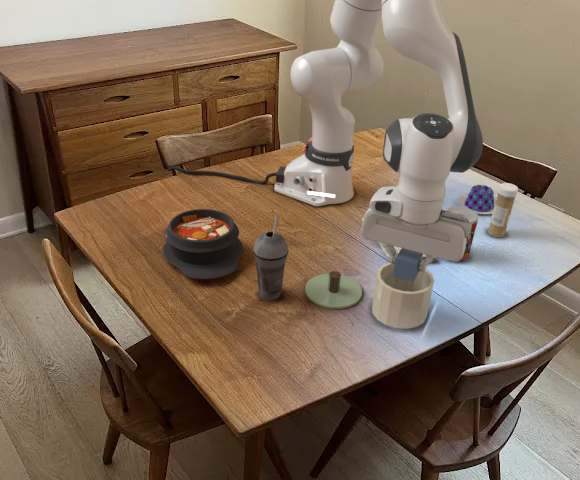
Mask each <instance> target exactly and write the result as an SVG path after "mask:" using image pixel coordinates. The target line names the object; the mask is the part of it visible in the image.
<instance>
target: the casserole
mask: <svg viewBox="0 0 580 480" xmlns="http://www.w3.org/2000/svg"><path fill="white" fill-rule="evenodd" d="M239 236H240V228H239V227H238V225H237V224H236V223H235V221H234V219H233V217H231V216H230V215H229V214H227V213H225V212H223V211H220V210H216V209H212V208H211V209H209V208H198V209H197V208H196V209H190V210H185V211H183V212H181V213H178V214H176V215H175V216H174V217H172V218H171V219H170V221H169V222H168V225H167V227H166V229H165V230H164V239H165V241H166V242H165V243H164V244H163V246H162V255H163V258H164V259H165V260H166V261H167V262H168V263H170V264H171V265H173V266H175V267H176V268H177V269H178V270H179V271H180V272H181V273H182V274H183V275H184V276H185V277H188V278H191V279H196V280H210V279H216V278H221V277H225V276H228V275H230V274H233V273H234V272H235V271H236V270H237V269H238V267H239V260H240V258H241V256H242V254H243V252H244V246H243V242H242V240H241V239H240V238H239Z"/></svg>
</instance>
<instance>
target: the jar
mask: <svg viewBox="0 0 580 480" xmlns="http://www.w3.org/2000/svg"><path fill="white" fill-rule="evenodd" d="M394 266H395V264H392V263H390V261H389V262H386V263H384V264H383V265H381V266H379V269H378V270H377V272H376V276H375V284H374V290H373V296H372V302H371V303H372V304H371V310H372V311H371V312H372V314H373V316H374V317H375V319H376V320H377V321H379V322H380V323H382V324H383V325H385V326H388V327H390V328H394V329H401V330H409V329H413V328H417V327H419V326H420V325H422V324H423V323H425V321H426V319H427V317H428V312H429V308H430V303H431V298H432V294H433V289H434V285H435V279H434V275H433V274H432V272H430V271H429V269H428V268H426V270H425V272H422V271H419V273H418V275H417V277H416V279H415V281H414V282H413V281H409V280H406V279H402V278H399V277H395V276H393V272H394Z"/></svg>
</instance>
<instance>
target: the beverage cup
mask: <svg viewBox="0 0 580 480" xmlns="http://www.w3.org/2000/svg"><path fill="white" fill-rule="evenodd" d="M278 221H279V214H278V213H276V214H275V219H274V226H273V231H271V230H270V231H265V232H263V233H261V234H260V235H259V236H257V238H256V240H255V241H254V245H253V249H252V252H253V256H254V261H255V266H256V275H257V287H258V293H259V296H260V297H261V298H262V299H263V300H267V301H274V300H277V299H279V298H280V297H281V293H282V289H283V281H284V274H285V266H286V262H287V259H288V255H289V247H288V243H287V240H286V239H285V237H284V236H283V235H282V234H280V233H279V232H277V229H278Z"/></svg>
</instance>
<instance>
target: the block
mask: <svg viewBox="0 0 580 480" xmlns="http://www.w3.org/2000/svg"><path fill="white" fill-rule="evenodd" d="M422 257H423V254H422V253H419V252H415V251H411V250H407V249H403V248H401V250H400V252H399V253H398V255H397V257H396V260H395V266H394V272H393V276H395V277H399V278H402V279H406V280H409V281H413V282H414V281H415V279H416V277H417V275H418V273H419V271H418V265H419V262H420V261H421V260H422Z"/></svg>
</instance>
